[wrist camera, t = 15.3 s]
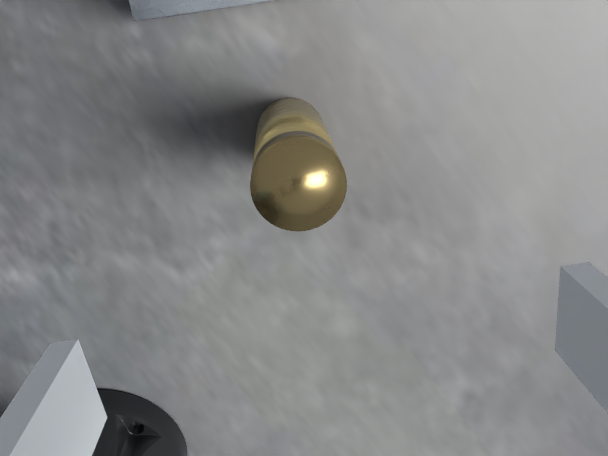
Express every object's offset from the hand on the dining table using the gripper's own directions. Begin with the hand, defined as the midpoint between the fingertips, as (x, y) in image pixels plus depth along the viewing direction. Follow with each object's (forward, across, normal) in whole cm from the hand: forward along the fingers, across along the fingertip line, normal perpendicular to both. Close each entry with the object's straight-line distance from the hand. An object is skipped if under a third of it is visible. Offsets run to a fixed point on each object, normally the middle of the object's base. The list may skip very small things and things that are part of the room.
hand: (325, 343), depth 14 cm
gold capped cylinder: (+27, 0, 0) cm, 27 cm away
